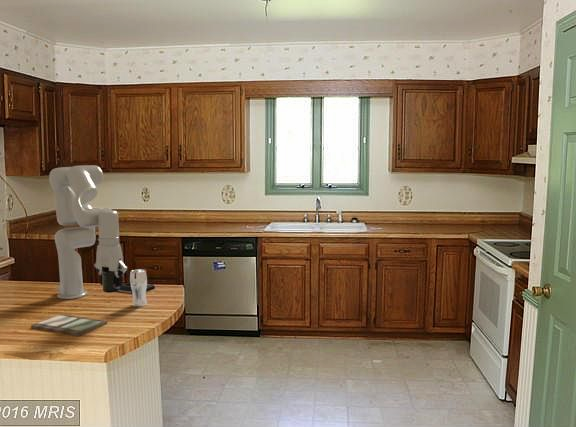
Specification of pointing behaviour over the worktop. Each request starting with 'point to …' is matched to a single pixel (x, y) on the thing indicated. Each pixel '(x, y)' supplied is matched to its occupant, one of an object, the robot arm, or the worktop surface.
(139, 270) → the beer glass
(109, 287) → the supplement container
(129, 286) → the door handle
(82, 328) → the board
